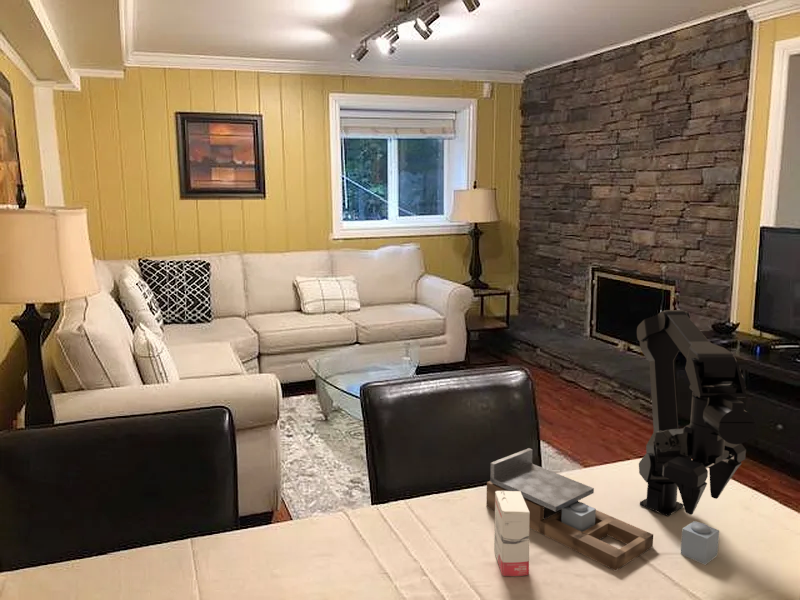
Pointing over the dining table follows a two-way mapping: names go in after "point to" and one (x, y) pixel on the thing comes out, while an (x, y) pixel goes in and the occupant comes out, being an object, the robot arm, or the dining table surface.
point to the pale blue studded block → (579, 516)
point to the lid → (537, 481)
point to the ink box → (511, 533)
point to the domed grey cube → (699, 542)
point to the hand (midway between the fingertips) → (701, 505)
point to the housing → (586, 533)
